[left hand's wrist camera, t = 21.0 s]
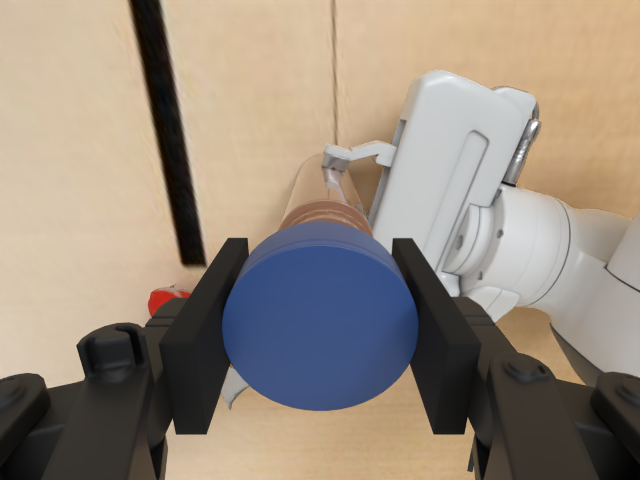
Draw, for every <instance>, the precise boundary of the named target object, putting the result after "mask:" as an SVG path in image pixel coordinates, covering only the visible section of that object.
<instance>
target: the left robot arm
mask: <svg viewBox="0 0 640 480" xmlns="http://www.w3.org/2000/svg"><path fill="white" fill-rule="evenodd" d="M391 256H392V257H393V258H394V260H395V262H396V263H397V265H398V267H399V269H400V271H401V274H402V276H403V278H404V280H405V282H406V284H407V286H408V289H409V291H410V293H411V295H412V298H413V300H414V302H415V305H416V309H417V313H418V318H419V327H418V336H417V344H416V350H415V352H414V355H413V357H412V360H411V361H410V366H411V369H412V372H413V375H414V378H415V380H416V383H417V386H418V389H419V392H420V395H421V398H422V401H423V404H424V407H425V410H426V413H427V416H428V419H429V422H430V425H431V428H432V431H433V434H464V433H465V428H466V423H467V418H469V420H470V423H471V425H472V427H473V429H474V431H475V435H474V440H473V444H472V449H471V454H470V459H469V464H468V470H467V471H469V472H472V471H473V467H474V471H475V480H640V377H637V376H634V375H630V374H627V373H620V372H605V373H602V374H601V375H599V376H598V377H597V379H596V382H595V385H594V387H590V386H585V385H580V384H576V383H571V382H566V381H562V380H559V379H556V378H555V376H554V374H553V373H552V372H551V370H550V369H549V368H548V367H547V366H546V365H544V364H543V363H542V362H540V361H539V360H537V359H535V358H533V357H531V356H528V355H525V354H521V353H518V352H517V351H516V350H515V349H514V347H513V346H512V345H511V343H510V342H509V341H508V340H507V338H506V337H505V336H504V334H503V333H502V332H501V331H500V329H499V328H498V327H497V326H495V323H494V322H493V320H492V319H491V318H490V317H489V315H488V314H487V313H486V311H485V310H484V309H483V307H482V306H481V305H480V304H478V303H477V302H475V301H474V300H472V299H470V298H469V297H451V296H450V295H449V293H448V292H447V290H446V289H445V287H444V285H443V284H442V282H441V281H440V279H439V278H438V276H437V275H436V273H435V272H434V270H433V269H432V267H431V266H430V264H429V263H428V261H427V260H426V258H425V257H424V255H423V254H422V252H421V251H420V249H419V248H418V246H417V245H416V243H415V242H414V240H413V239H412V238H393V241H392V254H391ZM248 257H249V251H248V238H228V239H227V240H226V242H225V243H224V245H223V246H222V248H221V249H220V251H219V252H218V254H217V256H216V257H215V259H214V260H213V262H212V263H211V265H210V266H209V268H208V269H207V271H206V272H205V274H204V275H203V277H202V278H201V280H200V281H199V283H198V284H197V286H196V287H195V289H194V290H193V292H192V293H191V295H190V296H189V298H172V299H170V300H169V301H167V302H166V303H164V304H163V305H161V306H160V307H159V308H158V309H157V311H156V312H155V313H154V314H153V316H152V319H150V320H149V321H148V322H147V323H146V325H145V327H143V328H142V327H141V326H139V325H138V324H134V323H116V324H112V325H108V326H104V327H102V328H99V329H97V330H95V331H92V332H91V333H89V334H88V335H86V336H85V337H83V338H82V339H81V340H80V342H79V343H78V344H77V345H76V346H77V350H78V353H79V357H80V360H81V363H82V367H83V370H84V374H85V379H84V380H83V381H80V382H76V383H72V384H67V385H62V386H58V387H53V388H49V389H47V387H46V384H45V381H44V378H42V377H41V376H40V375H38V374H32V373H24V374H18V375H13V376H9V377H7V378H3V379H0V480H165V472H166V462H167V453H168V446H167V440H166V435H165V434H166V431H167V429H168V427H169V425H170V423H171V421H172V418H173V421H174V427H175V432H176V434H207V431H208V428H209V426H210V423H211V420H212V417H213V414H214V411H215V408H216V405H217V402H218V399H219V396H220V393H221V390H222V387H223V384H224V381H225V378H226V375H227V372H228V369H229V366H230V363H231V362H230V360H229V358H228V356H227V354H226V350H225V347H224V342H223V333H222V317H223V311H224V307H225V304H226V301H227V299H228V297H229V294H230V292H231V290H232V288H233V286H234V284H235V281H236V279H237V277H238V275H239V273H240V271H241V269H242V267H243V265H244V263H245V261H246V259H247V258H248Z"/></svg>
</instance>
